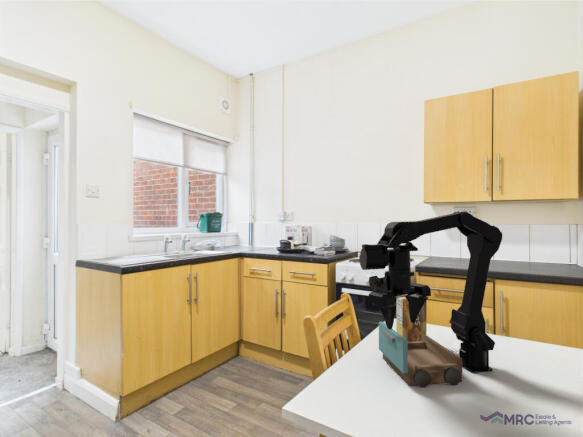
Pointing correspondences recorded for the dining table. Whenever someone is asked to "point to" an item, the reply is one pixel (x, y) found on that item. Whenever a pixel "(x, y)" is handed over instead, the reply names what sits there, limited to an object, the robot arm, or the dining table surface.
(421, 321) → the candy box
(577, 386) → the dining table surface
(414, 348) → the cart bed
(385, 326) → the panel
